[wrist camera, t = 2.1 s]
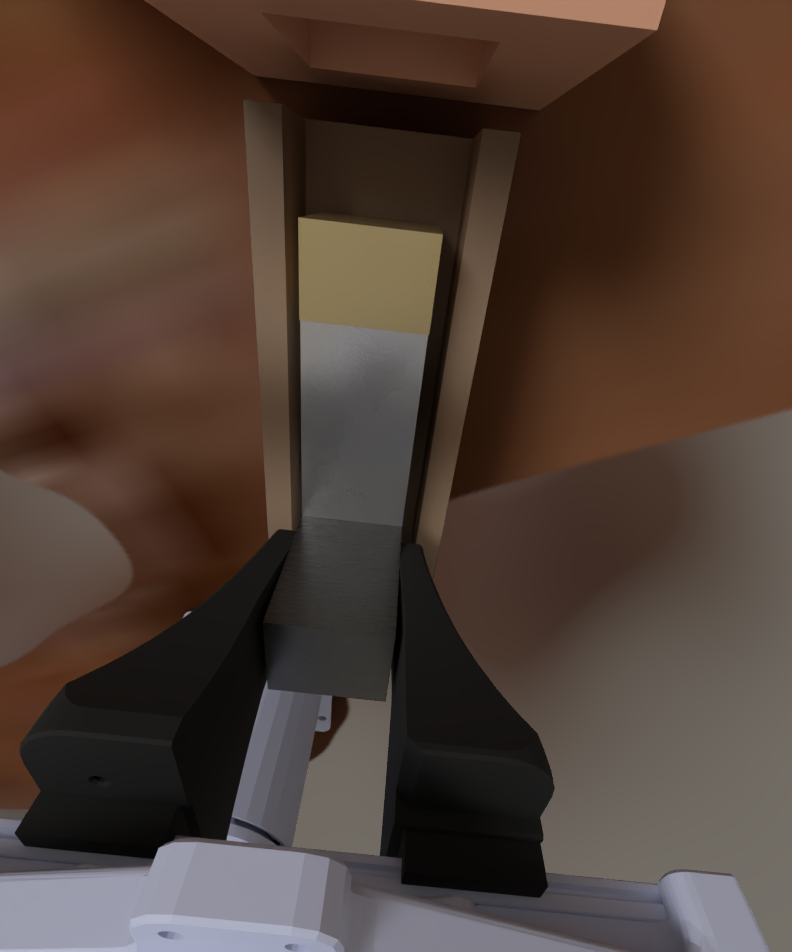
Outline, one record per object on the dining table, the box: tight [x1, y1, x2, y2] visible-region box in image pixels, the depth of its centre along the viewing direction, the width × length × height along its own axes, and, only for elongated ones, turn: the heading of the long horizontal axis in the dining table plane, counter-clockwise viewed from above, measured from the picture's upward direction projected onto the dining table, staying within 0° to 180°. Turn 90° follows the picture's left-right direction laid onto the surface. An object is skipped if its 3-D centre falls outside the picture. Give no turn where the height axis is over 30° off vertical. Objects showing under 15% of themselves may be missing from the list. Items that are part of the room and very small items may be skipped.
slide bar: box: [263, 212, 443, 701], centre depth 13 cm, size 14×3×7 cm, turn 174°
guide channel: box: [243, 99, 521, 580], centre depth 15 cm, size 15×6×4 cm, turn 174°
